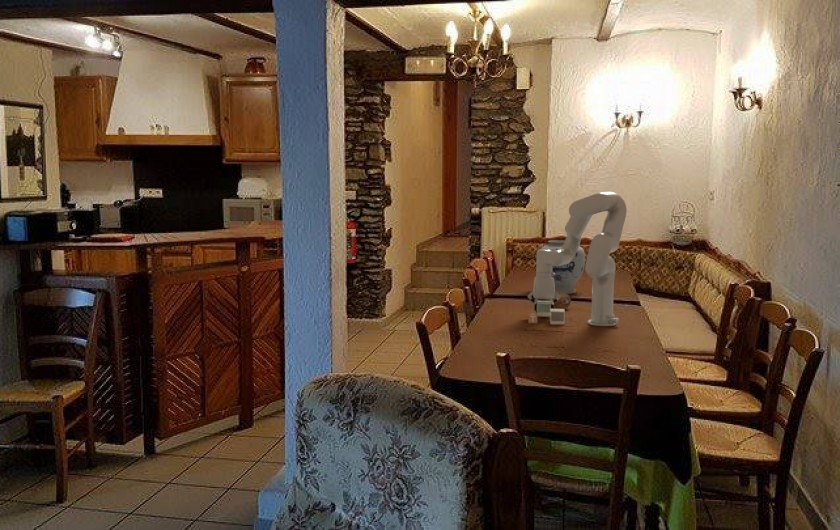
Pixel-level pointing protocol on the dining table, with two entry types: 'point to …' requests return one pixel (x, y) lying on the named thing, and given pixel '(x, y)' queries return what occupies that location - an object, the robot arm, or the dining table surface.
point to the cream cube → (557, 316)
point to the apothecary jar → (567, 269)
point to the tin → (561, 301)
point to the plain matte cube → (543, 308)
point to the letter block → (532, 318)
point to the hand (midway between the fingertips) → (543, 312)
